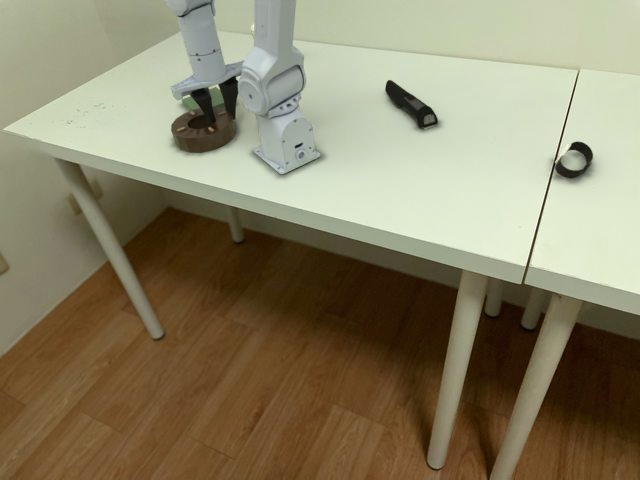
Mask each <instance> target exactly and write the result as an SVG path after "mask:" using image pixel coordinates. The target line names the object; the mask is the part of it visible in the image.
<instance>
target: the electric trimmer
mask: <svg viewBox="0 0 640 480" xmlns="http://www.w3.org/2000/svg"><path fill="white" fill-rule="evenodd" d="M384 88H385V89H384V91H385V93H386V94H387V96H388V97H389V99H390V100H391V101H392V102H393V104H394V105H395V106H396V107H397V108H401V109H404V110H405V111H406V112H407V113H408V114H409V115H410V116H412V117H413V118H414V119H415V120H416V123H417V126H418V127H419V128H421V129H423V130H427V129H429V128H433V127H436V126H437V124H438V123H439V120H438V116H437V114H436V113H435V111H434V109H433V108H432V107H431V106H429V105H427V104H426V103H425V102H423V101H422V100H420V98H417V97H416V96H415V95H413V94H412V93H411V92H409V91H407V90H406V89H404V88H403V87H402V86H401V85H399V84H397V83H396V82H395V81H393V80H392V79H388V80H387V81H386V83H385V87H384Z"/></svg>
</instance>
